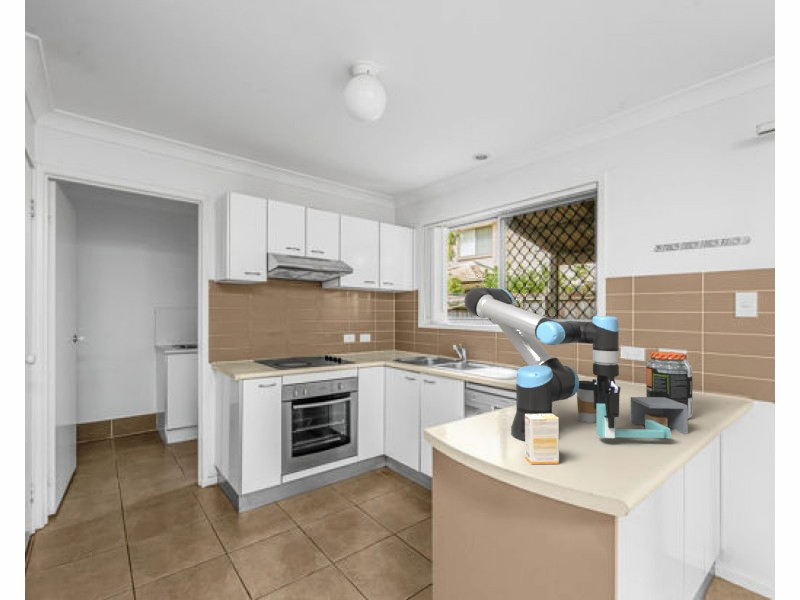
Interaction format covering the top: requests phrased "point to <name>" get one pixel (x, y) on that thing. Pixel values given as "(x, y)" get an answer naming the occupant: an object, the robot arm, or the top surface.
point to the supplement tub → (670, 378)
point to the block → (657, 419)
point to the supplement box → (542, 438)
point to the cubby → (660, 411)
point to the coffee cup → (586, 402)
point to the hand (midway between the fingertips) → (606, 435)
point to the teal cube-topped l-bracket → (652, 429)
